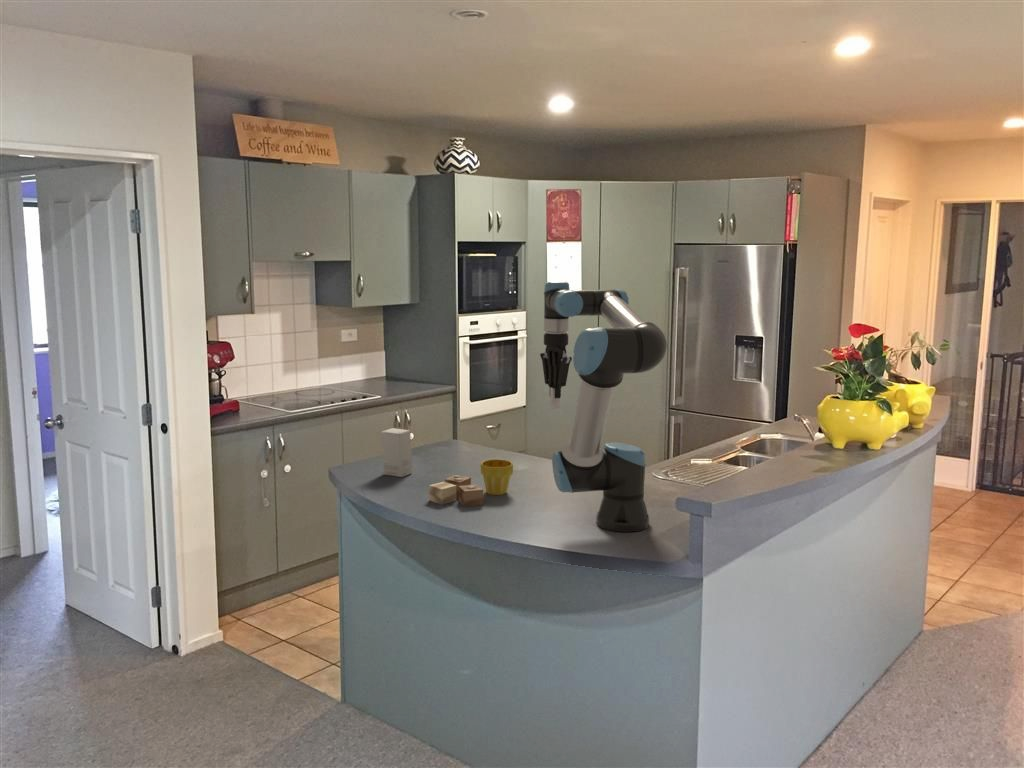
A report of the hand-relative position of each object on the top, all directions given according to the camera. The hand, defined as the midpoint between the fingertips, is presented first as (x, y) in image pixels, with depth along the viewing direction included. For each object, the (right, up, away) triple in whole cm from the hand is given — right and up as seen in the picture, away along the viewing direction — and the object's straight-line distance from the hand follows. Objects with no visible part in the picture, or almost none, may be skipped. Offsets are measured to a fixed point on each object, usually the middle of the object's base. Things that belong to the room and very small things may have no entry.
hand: (554, 408), depth 267 cm
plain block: (-35, -29, +3) cm, 46 cm away
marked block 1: (-31, -28, +11) cm, 43 cm away
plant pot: (-18, -28, +12) cm, 35 cm away
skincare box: (-53, -24, +32) cm, 67 cm away
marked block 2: (-26, -30, 0) cm, 39 cm away
